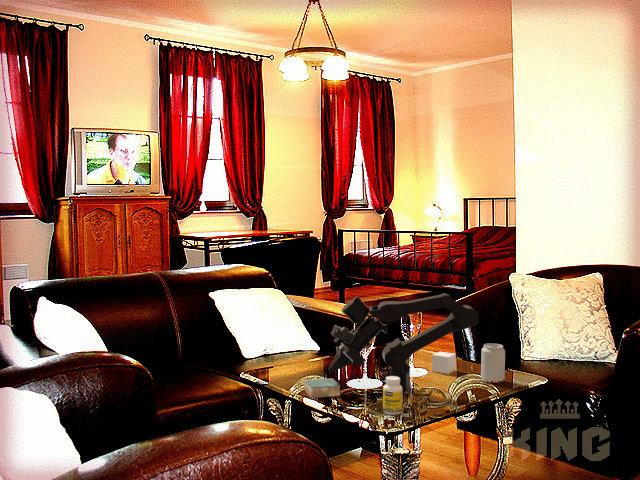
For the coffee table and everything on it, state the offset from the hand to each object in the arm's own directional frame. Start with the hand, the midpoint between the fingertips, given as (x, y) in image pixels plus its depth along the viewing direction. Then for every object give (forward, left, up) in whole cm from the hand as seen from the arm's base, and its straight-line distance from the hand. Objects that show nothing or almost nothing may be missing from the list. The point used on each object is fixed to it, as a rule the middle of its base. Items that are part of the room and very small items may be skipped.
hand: (329, 370), depth 212 cm
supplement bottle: (-24, +8, -7) cm, 27 cm away
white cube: (-22, -41, -7) cm, 47 cm away
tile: (-2, -1, -5) cm, 6 cm away
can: (-40, -37, -7) cm, 55 cm away
